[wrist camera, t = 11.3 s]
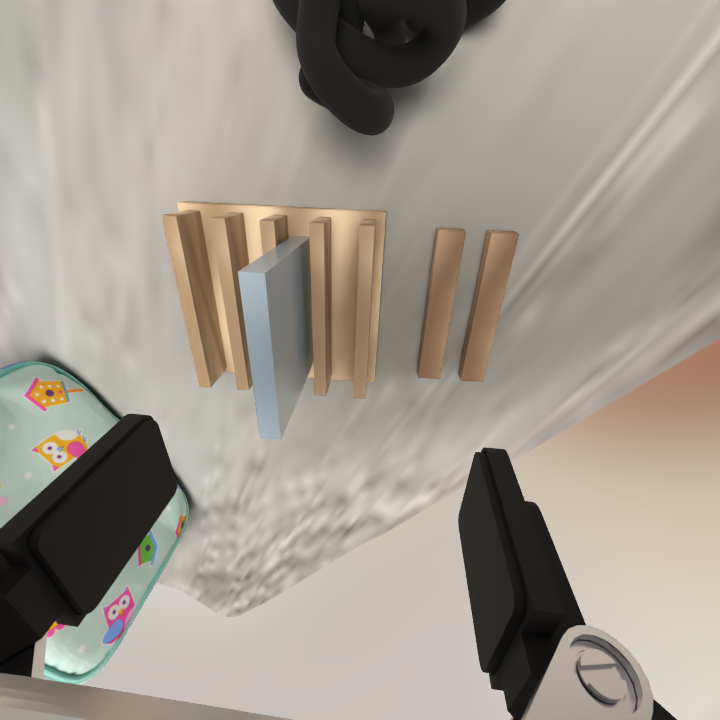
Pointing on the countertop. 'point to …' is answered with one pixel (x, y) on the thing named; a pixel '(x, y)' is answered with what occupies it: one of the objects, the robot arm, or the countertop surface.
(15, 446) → the lunch box
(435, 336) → the wooden slats
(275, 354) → the plate
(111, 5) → the countertop surface
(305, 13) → the squiggle
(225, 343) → the dish rack
